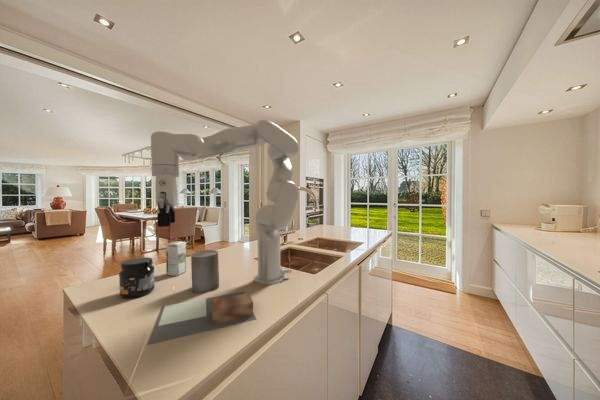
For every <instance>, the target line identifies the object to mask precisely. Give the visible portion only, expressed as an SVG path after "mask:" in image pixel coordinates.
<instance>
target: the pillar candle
mask: <svg viewBox="0 0 600 400" xmlns="http://www.w3.org/2000/svg"><path fill="white" fill-rule="evenodd" d="M190 258H191V259H190V261H191V262H190V265H191V266H190V267H191V291H192V293H199V294H202V293H203V294H204V293H209V292H213V291H215V290H217V289H218V288H219V286H220V272H219V271H220V270H219V269H220V268H219V266H220V265H219V251H218V250H216V249H215V250H213V249H204V250H199V251H195V252H193V253H191V254H190Z"/></svg>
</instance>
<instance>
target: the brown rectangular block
mask: <svg viewBox="0 0 600 400" xmlns="http://www.w3.org/2000/svg"><path fill="white" fill-rule="evenodd" d="M253 312H254V301H253V299H252V297H251V295H250V293H249V292H248V293H245V294H242V295H236V296H231V297H225V298H218V299H213V300H212V322H213V325H214V324H218V323H223V322H227V321H232V320H236V319H240V318H245V317H249V316H253Z"/></svg>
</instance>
